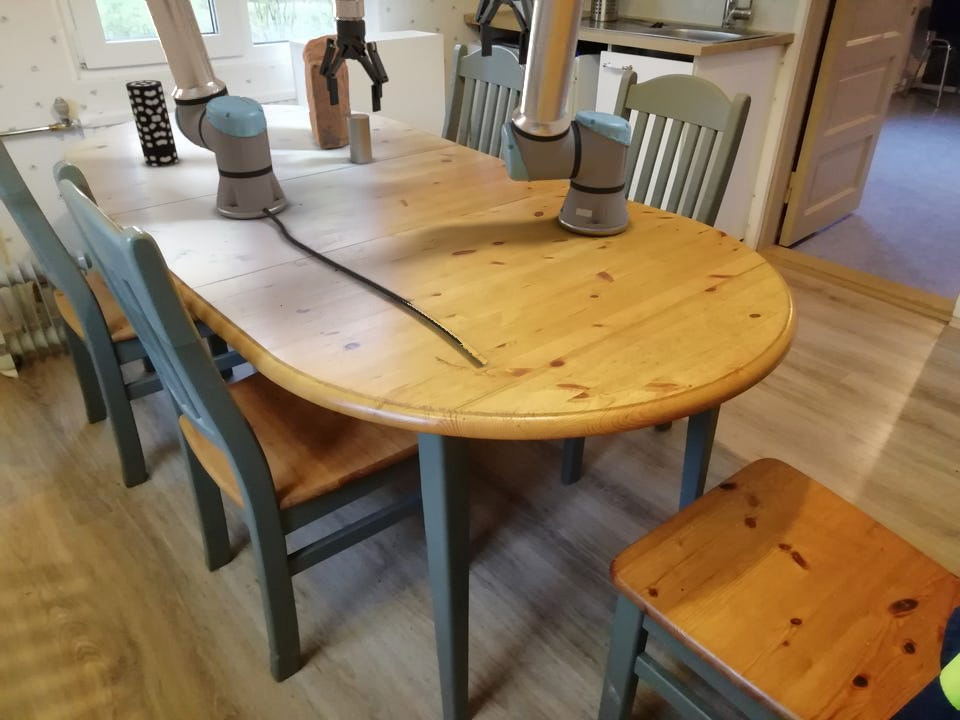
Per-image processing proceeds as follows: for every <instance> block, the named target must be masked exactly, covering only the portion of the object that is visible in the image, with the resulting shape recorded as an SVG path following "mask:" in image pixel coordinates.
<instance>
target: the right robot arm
mask: <svg viewBox="0 0 960 720" xmlns="http://www.w3.org/2000/svg"><path fill="white" fill-rule="evenodd" d="M585 1H586V0H479V3H478V5H477V9H476V12H475V15H474V23H476V24H478V25H479V27H480V41H481V47H480V48H481V51H480V52H481V55H480V56H481V57H482V58H483V57H492V55H493V24H492V21H493V20H494V18H495V16H496V15H497V13H498V11H499V9H500V7H501V5H506V6H509V7H510V8H511V9H512V12H513V14H514V17H515V18H516V21H517V24H518V25H519V28H520V30H521V31H520V33H519V38H518V39H519V41H518V43H519V45H518V63H517V64H518V66H519V65H520V66H523V65H526V66H525V74H524V80H523V81H524V82H523V89H522V97H521V104H520V105H519V106H517V107H516V108H515V109H514V110H513V112H512V115H511V117H512V118H511V121H507V122H504V123H503V124H502V126H501V130H500V131H501V133H500V134H501V135H500V136H501V149H502V156H503V161H504V166H505V170H506V173H507V176H508V177H509V179H511V180H512V181H514V182H528V183H531V182H539V181H559V180H560V181H561V180H569V188H568V191H567V192H566V195H565V198H564V200H563V203H562V206H561V208H560V210H559V213H558V224H559V225H560V227H562V228H563V229H565V230H566V231H569V232H571V233H575V234H578V235H583V236H589V237H591V236H592V237H607V236H613V235H618V234H620V233H621V234H622V233H623V232H625V231H626V230H627V229H628V227H629V223H630V222H629V221H630V215H629V212H628V208H627V201H626V200H627V199H628V198H629V197H630V195H629V194H628V193H626V194H625V187H626V186H625V185H626V178H627V171H628V164H629V156H630V151H631V150H630V149H631V146H632V141H631V139H632V126H631V123H630V122H629V121H628V120H627V119H625V118H623V117H621V116H618V115H615V114H611V113H607V112H604V111H603V112H602V111H598V110H597V111H596V110H580V111H577V112H576V113H575V115H574V120H571V116H570V114H569V113H568V112H567V111H566V108H567V102H568V97H569V91H570V85H571V80H572V74H573V68H574V64H575V57H576V53H577V47H578V40H579V34H580V31H581V30H580V29H581V23H582V18H583V12H584V8H585Z"/></svg>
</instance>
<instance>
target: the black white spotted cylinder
mask: <svg viewBox="0 0 960 720" xmlns="http://www.w3.org/2000/svg"><path fill="white" fill-rule="evenodd" d="M125 87H126V91H127V95H128V99H129V103H130V107H131V110H132V115H133V118H134V122H135V123H134V124H135V127H136V130H137V134H138V139H139V143H140V146H141V150H142V155H143V158H144V163H145V164H146V165H147V166H151V167H164V166H170V165H174V164H176V163H178V162H179V155H178V150H177V146H176V142H175V137H174V133H173V128H172V125H171V121H170V116H169V111H168V107H167V103H166V98H165V93H164V89H163V84H162V81H161V80H155V79H154V80H153V79H151V80H150V79H145V80H144V79H141V80H134V81H130V82H129V81H128V82H127V83H126V84H125Z"/></svg>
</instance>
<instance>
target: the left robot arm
mask: <svg viewBox="0 0 960 720" xmlns="http://www.w3.org/2000/svg"><path fill="white" fill-rule="evenodd" d="M144 2H145V5H146V8H147V11H148V13H149V16H150V19H151V22H152V24H153V28H154V29H155V32H156V35H157V37H158V40H159V43H160V46H161V48H162V50H163V53H164V57H165V59H166V63H167V64H168V67H169V70H170V72H171V75H172V78H173V80H174V83H175V88H174V90H173V92H172V94H171V95H172V97H173V100H174V103H175V106H176V107H175V108H174V119H175V120H174V121H175V124H176V126H177V128H178V130H179V132H180V133H181V134H182V136H183V137H185V139H187V140H188V141H189V142H191V144H193V145H195V146H198V147H199V148H202V149H206V150H207V151H210V152H212V153H214V156H215V161H216V167H217V169H218V170H217V172H218V185H217V193H216V201H215V203H216V204H215V206H216V210H217V213H218V214H219V215H221V216H223V217H225V218H229V219H236V220H253V219H260V218H261V219H262V218H265V217H266V218H267V217H268V218H270V219H271V220H272V221H273V222H274V223H275V224H276V225H277V226H278V227H279V229H280V231H281V233H282V235H283V236H284V238H285V239H286V240H287V241H289V243H291V244H293V245H294V246H296V247H297V248H299V249H301V250H303V251H304V252H306V253H307V254H309V255H311V256H312V257H314V258H317V259H318V260H320V261H321V262H323V263H326V264H327V265H328V266H331V267H332V268H335V269H336V270H338V271H341V272H342V273H344V274H346V275H348V276H350V277H351V278H354V279H356V280H357V281H359V282H361V283H364V284H365V285H366V286H369V287H370V288H373V289H374V290H377V291H378V292H379V293H382V294H383V295H386V296H387V297H389V298H391V299H392V300H394V301H396V302H398V303H399V304H400V305H403V306H404V307H406V308H408V309H409V310H411V311H413V312H414V313H416V314H417V315H419V316H420V317H422V318H423V319H424V320H426V321H427V322H429V323H430V324H432V325H433V326H435V327H436V328H438V329H439V330H440V331H441V332H443V333H444V334H445V335H446V336H448V337H449V338H450V339H452V341H454V342H455V343H457V344H458V345H459V344H462V343H461V342H460V341H459V340H458V339H457V338H455V337H454V336H453V335H451V334H450V333H449V332H448V331H446V330H445V329H444V328H442V327H441V326H440V325H438V324H437V323H435V322H434V321H433V320H431V319H430V318H428V317H427V316H425V315H424V314H422V313H421V312H419V311H418V310H416V309H415V308H413V307H412V306H410V305H408V304H407V303H409V304H411V302H410V301H408V300H407V299H405V298H404V297H402V296H400V295H398V294H396V293H395V292H393V291H391V290H389V289H388V288H385V287H384V286H382V285H380V284H378V283H376V282H375V281H373V280H371V279H369V278H367V277H364V276H363V275H361V274H359V273H357V272H355V271H353V270H351V269H349V268H347V267H345V266H343V265H342V264H339V263H337V262H336V261H334V260H332V259H330V258H329V257H326V256H324V255H323V254H321V253H319V252H317V251H315V250H314V249H312V248H311V247H309V246H307V245H305V244H304V243H302V242H300V241H298V240H297V239H295V238H294V237H292V236H291V235H290V234H289V232H288V231H287V229H286V227H285V225H284V224H283V222H282V221H281V220H280V219H278V217H277V216H276V214H278V213H280V212H282V211H283V210H285V209H286V207H287V199H286V194H285V193H284V191H283V189H282V187H281V184H280V182H279V180H278V179H277V177H276V175H275V172H274V167H273V160H272V154H271V147H270V140H269V133H268V127H267V126H268V123H267V122H268V121H267V118H266V115H265V110H264V107H263V106H262V104H261V103H260V102H259V101H258V100H255V99H254V98H250V97H247V96H240V95H230V94H229V91H228V88H227V85H226V83H225V81H223V80H222V79H219V78H218V77H217V76H216V74H215V71H214V68H213V64H212V62H211V59H210V55H209V53H208V49H207V46H206V44H205V41H204V39H203V35H202V33H201V29H200V25H199V22H198V21H197V20H198V19H197V17H196V14H195V11H194V8H193V6H192V2H191V0H144ZM332 7H333V8H332V11H333V16H334V17H335V18H336V19H334V35H337V39H336V38H335V37H332V38H327V47H326V51H325V54H324V58H323V61H322V64H321V68H320V71H319V74H320V75H323V76H324V77H325V78H326V80H327V90H328V91H329V93H330V105H331V106H334V105H337V104H339V97H338V84H337V78H333V77H336V76H335V74H336V73H337V71H338V70H339V68H340V66H341V65H342V63H343V61H344V60H345V59H346V60H351V61H357V63H359V64H360V65H361V66H362V68H363V70H364V71H365V72H366V74H367V76H368V77H369V79H370V80H371V82H372V84H371V85H370V89H371V107H372V108H371V109H372V113H377V112H380V111H382V102H381V99H382V98H383V84H385V83H389V82H390V81H389V80H390V78H389V76H388V74H387V72H386V69H385V67H384V63H383V62H382V59H381V57H380V55H379V52H378V46H377V42H376V41H370V42H369V41H368V42H366V35H367V31H366V20H365V19H364V17H365V0H332ZM336 47H338V48H339V51H338V52H337V54H336V57H335V59H334V61H333V62H332V60H333V57H334V54H335V50H336ZM331 63H332V64H331ZM403 301H404V302H403ZM405 302H406V303H405ZM412 304H413V303H412ZM412 304H411V305H412ZM462 346H463V345H460V347H462Z"/></svg>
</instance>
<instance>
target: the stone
mask: <svg viewBox="0 0 960 720" xmlns="http://www.w3.org/2000/svg"><path fill="white" fill-rule="evenodd" d="M332 37H335V38H336V39H337V35H336V34H326V35H323V36H319V37H317V38H312V39H310V40H308V42H307V43H306V44H305V46H304V48H303V51H302V60H303V62H304V82H305V83H304V85H305V92H306V100H307V105H308V110H309V112H308V116H309V123H310V127H311V131H312V135H313V137H314V140H315V142H316V145H317V146H318V147H319V148H320V149H333V148H341V147H344V146H347V145H349V136H348V125H347V116H348V115H350V114H352V110H351V100H350V79H349V78H350V75H349V67H348V65H347V61H346V60H347V59H345V60H344V61H343V63H342V65H341V66H340V68H339V70H338V71H337V73H336V74H335V76H336V77H333V78H337V84H338V97H339V104H337V105H334V106H331V105H330V93H329V91H328V90H327V80H326V78H325V77H324V76H323V75H320V74H319V71H320V68H321V64H322V61H323V58H324V54H325V51H326V47H327V38H332ZM338 51H339V48H338V47H336V50H335V54H334V57H333V60H332V62H333V61H334V59H335V57H336V54H337V52H338ZM331 64H332V63H331Z"/></svg>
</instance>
